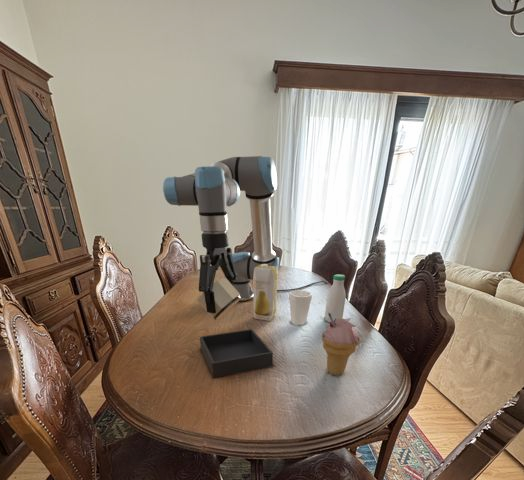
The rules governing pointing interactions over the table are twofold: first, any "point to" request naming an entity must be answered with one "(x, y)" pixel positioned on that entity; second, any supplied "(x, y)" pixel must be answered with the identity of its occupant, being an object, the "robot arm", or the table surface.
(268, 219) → the robot arm
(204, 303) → the pot
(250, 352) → the tray
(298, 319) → the foam cup
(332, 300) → the milk bottle
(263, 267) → the juice carton
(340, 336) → the ice cream cone
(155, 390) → the table surface
